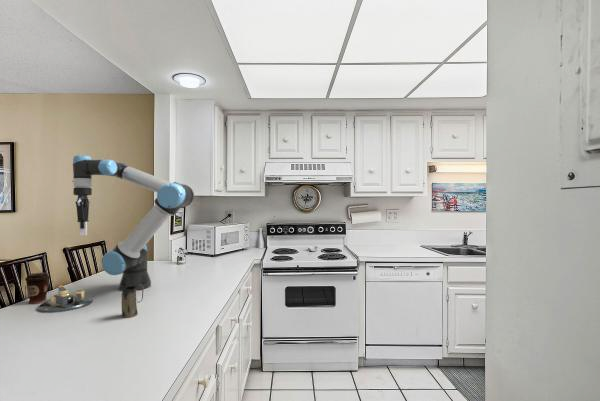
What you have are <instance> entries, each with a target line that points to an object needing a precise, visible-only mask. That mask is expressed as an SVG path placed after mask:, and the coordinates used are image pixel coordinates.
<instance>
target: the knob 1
mask: <svg viewBox="0 0 600 401" xmlns="http://www.w3.org/2000/svg"><path fill="white" fill-rule="evenodd" d="M65 293H69V294H70V290H69V289H67V288H65V286H64V285H63V284H61V285H58V294H60V295H64V294H65Z"/></svg>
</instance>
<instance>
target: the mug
mask: <svg viewBox="0 0 600 401" xmlns="http://www.w3.org/2000/svg"><path fill="white" fill-rule="evenodd" d="M137 286H142V289H141V290H142V291H141V292H142V293H141V300H140V301H137V290H136V288H137ZM137 286H136V287H135V286H131V287H125V288H123V290H121V316H122V318H124V319H130V318H134V317H137V316H138V306H137V305H138V304H137V303H142V301H143V298H144V289H143V285H137Z"/></svg>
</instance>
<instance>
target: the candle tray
mask: <svg viewBox="0 0 600 401" xmlns="http://www.w3.org/2000/svg"><path fill="white" fill-rule="evenodd" d="M65 294H67V304H65V305H60V306H56V307H51V300H46V301H45V302H42V303H40V304H39V305H38V307H37V311H38V312H40V313H60V312H61V313H62V312H68V311H69V312H70V311H73V310H77V309H81V308H84V307H87V306H89V305H91V304H93V303H94V297H93V296H90V295H84V301H81V302H75V295H71V294H70V292H69V293H65Z"/></svg>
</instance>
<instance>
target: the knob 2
mask: <svg viewBox="0 0 600 401" xmlns="http://www.w3.org/2000/svg"><path fill="white" fill-rule="evenodd" d="M50 301H51V307H56V306H60V305H65V304H67V294H64V295H60V294H59V293H57V294H53V295H51V296H50Z"/></svg>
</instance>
